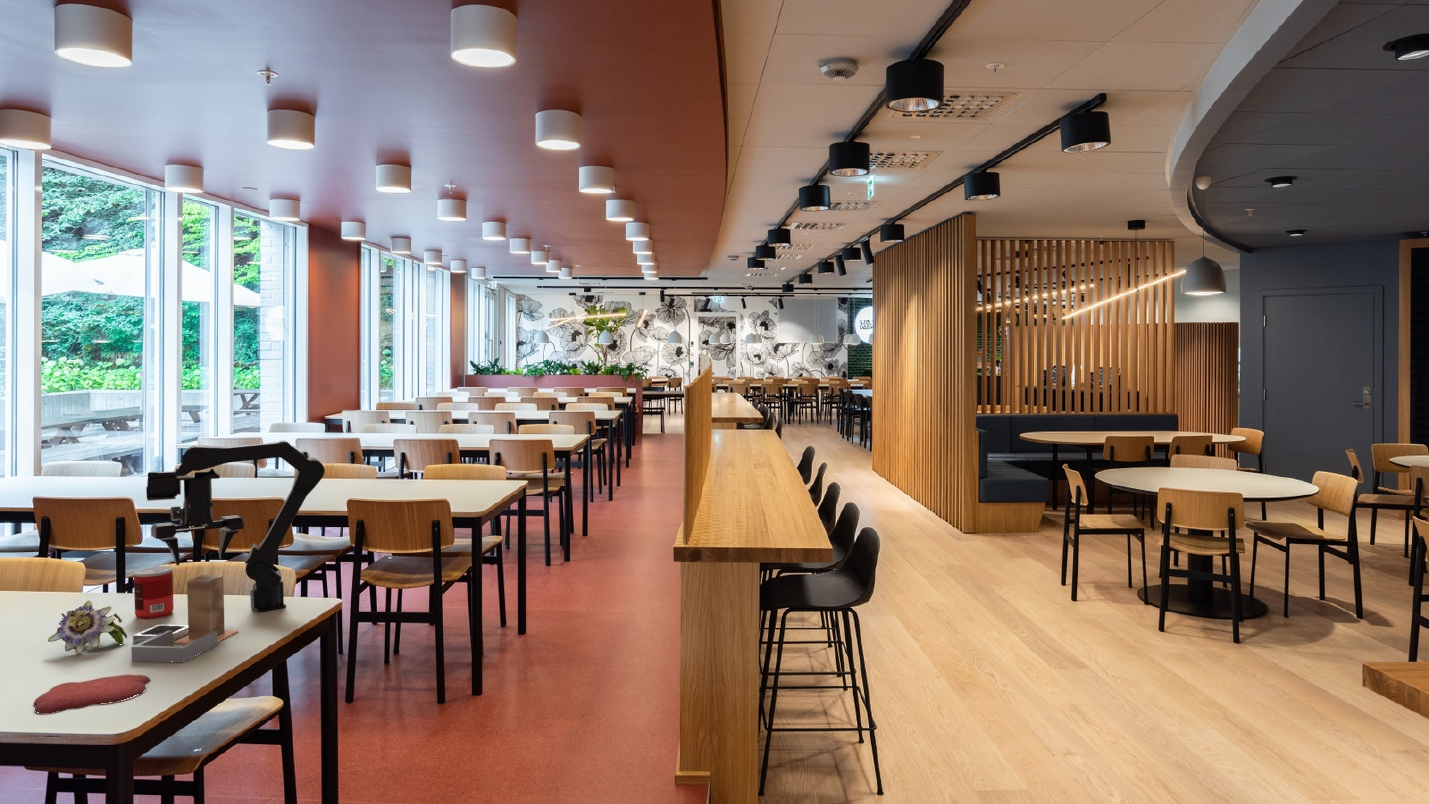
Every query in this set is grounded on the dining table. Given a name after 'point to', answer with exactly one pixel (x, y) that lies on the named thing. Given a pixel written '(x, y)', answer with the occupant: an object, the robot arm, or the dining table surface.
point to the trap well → (160, 628)
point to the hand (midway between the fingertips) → (199, 562)
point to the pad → (219, 638)
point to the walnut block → (205, 606)
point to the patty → (90, 692)
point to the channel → (171, 648)
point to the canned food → (153, 592)
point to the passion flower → (87, 627)
